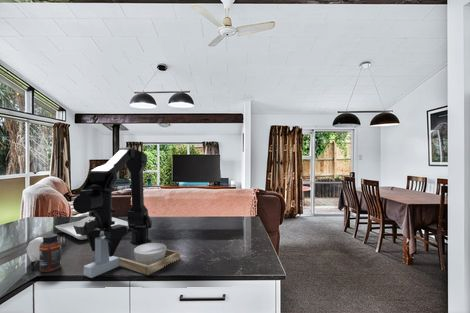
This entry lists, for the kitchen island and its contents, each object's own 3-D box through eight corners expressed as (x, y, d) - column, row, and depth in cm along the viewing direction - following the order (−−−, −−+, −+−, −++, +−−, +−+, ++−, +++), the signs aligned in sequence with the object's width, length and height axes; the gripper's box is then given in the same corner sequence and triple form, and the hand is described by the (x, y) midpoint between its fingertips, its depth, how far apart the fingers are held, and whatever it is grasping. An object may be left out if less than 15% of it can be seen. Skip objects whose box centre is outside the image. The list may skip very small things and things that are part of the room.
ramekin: (156, 270, 86) (156, 255, 86) (126, 267, 89) (126, 252, 89) (171, 257, 97) (171, 243, 97) (145, 255, 100) (145, 241, 100)
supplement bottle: (65, 265, 90) (65, 232, 90) (53, 272, 84) (53, 238, 84) (47, 265, 90) (47, 232, 90) (34, 273, 84) (34, 238, 84)
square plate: (77, 244, 112) (77, 235, 112) (54, 233, 129) (54, 225, 129) (134, 230, 134) (134, 222, 134) (108, 221, 150) (108, 215, 150)
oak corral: (151, 251, 103) (151, 245, 103) (179, 258, 96) (179, 252, 96) (118, 265, 90) (118, 258, 90) (148, 275, 83) (148, 267, 83)
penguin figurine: (24, 239, 91) (49, 232, 103) (23, 264, 90) (48, 254, 102) (42, 239, 91) (65, 232, 103) (41, 264, 90) (64, 254, 102)
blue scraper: (83, 275, 83) (83, 241, 83) (111, 263, 92) (111, 232, 92) (91, 278, 81) (91, 243, 81) (119, 266, 90) (119, 234, 90)
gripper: (61, 208, 84) (61, 256, 84) (96, 215, 75) (96, 269, 75) (94, 202, 94) (94, 246, 94) (129, 208, 84) (129, 256, 84)
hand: (102, 253), depth 86 cm, fingers open, 9 cm apart
